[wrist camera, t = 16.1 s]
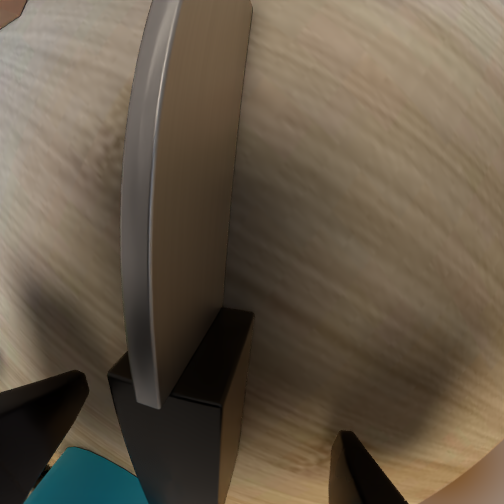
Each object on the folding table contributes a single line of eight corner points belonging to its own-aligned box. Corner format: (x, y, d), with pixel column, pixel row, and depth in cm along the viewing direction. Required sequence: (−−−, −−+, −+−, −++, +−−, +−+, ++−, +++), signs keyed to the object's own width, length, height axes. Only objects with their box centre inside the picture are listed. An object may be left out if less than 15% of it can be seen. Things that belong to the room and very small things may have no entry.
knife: (238, 453, 10) (214, 540, 6) (183, 441, 10) (146, 520, 6) (285, 8, 6) (269, -101, 2) (205, 9, 6) (141, -81, 2)
